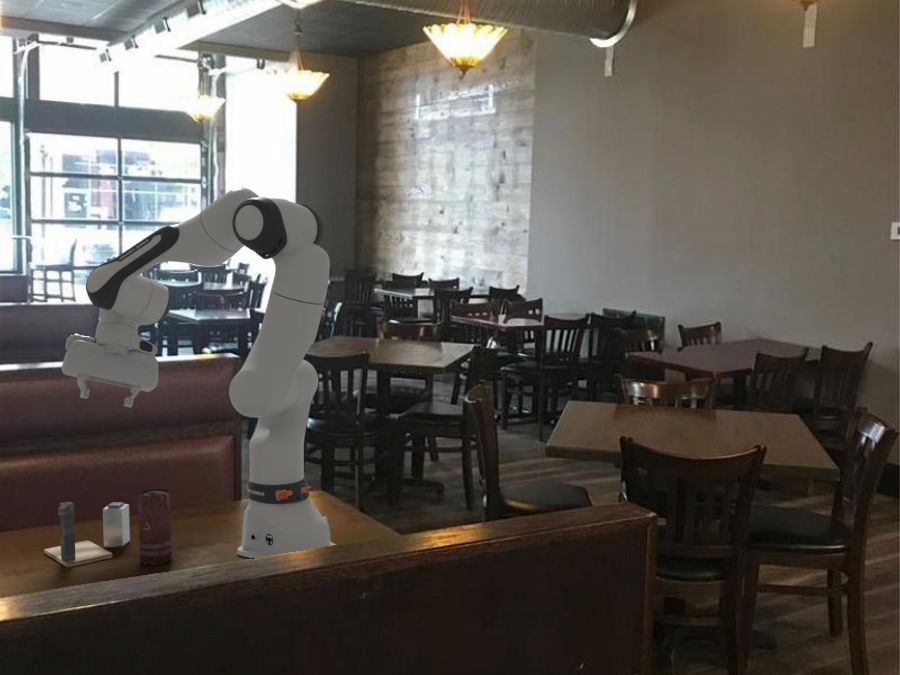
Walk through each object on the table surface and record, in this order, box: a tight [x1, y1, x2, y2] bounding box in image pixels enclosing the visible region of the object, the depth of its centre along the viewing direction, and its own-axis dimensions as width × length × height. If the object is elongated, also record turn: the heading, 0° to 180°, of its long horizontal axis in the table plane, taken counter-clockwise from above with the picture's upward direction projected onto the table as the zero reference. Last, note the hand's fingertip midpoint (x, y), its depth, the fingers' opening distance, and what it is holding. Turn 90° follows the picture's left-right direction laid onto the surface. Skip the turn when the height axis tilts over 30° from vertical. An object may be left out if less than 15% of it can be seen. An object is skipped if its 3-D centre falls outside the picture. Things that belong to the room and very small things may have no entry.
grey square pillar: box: [102, 501, 131, 548], centre depth 200 cm, size 4×4×9 cm
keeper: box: [43, 501, 114, 568], centre depth 191 cm, size 13×11×12 cm
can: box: [137, 488, 173, 565], centre depth 189 cm, size 6×6×14 cm
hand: (106, 401), depth 207 cm, fingers open, 8 cm apart
